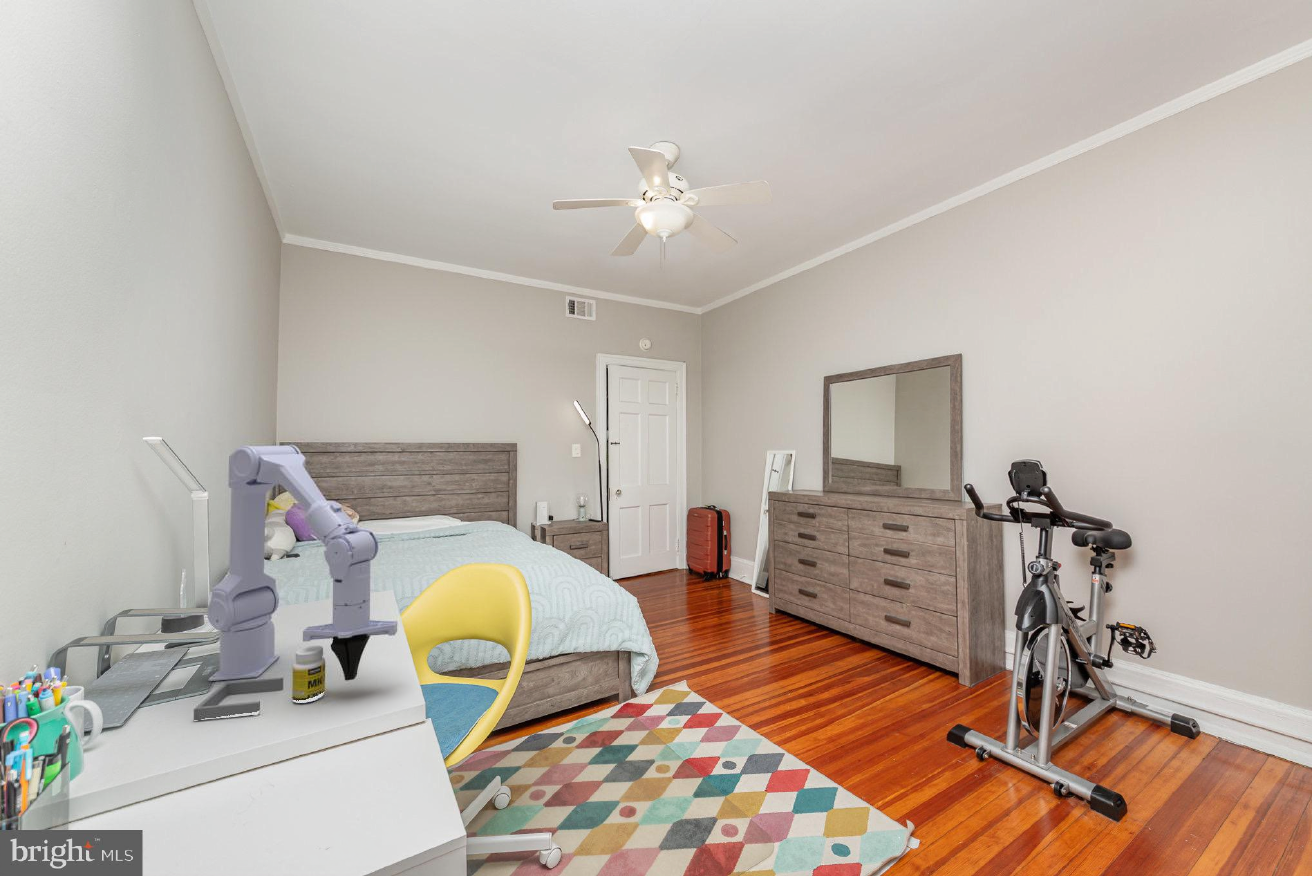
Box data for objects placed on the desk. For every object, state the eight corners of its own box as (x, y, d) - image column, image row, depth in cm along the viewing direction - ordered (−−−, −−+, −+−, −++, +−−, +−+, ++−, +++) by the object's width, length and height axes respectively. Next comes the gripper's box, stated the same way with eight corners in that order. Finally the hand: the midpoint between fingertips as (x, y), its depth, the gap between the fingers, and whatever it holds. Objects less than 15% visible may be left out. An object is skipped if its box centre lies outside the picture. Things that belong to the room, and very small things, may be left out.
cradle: (225, 693, 93) (225, 682, 93) (283, 688, 95) (283, 677, 95) (193, 721, 84) (193, 709, 84) (258, 715, 86) (258, 703, 86)
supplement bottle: (308, 706, 89) (309, 656, 89) (285, 703, 90) (285, 653, 90) (331, 692, 94) (331, 645, 94) (308, 689, 95) (309, 643, 95)
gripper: (295, 611, 88) (294, 692, 88) (390, 605, 91) (390, 683, 91) (312, 597, 95) (311, 673, 95) (400, 593, 98) (399, 666, 98)
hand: (351, 677), depth 94 cm, fingers closed
